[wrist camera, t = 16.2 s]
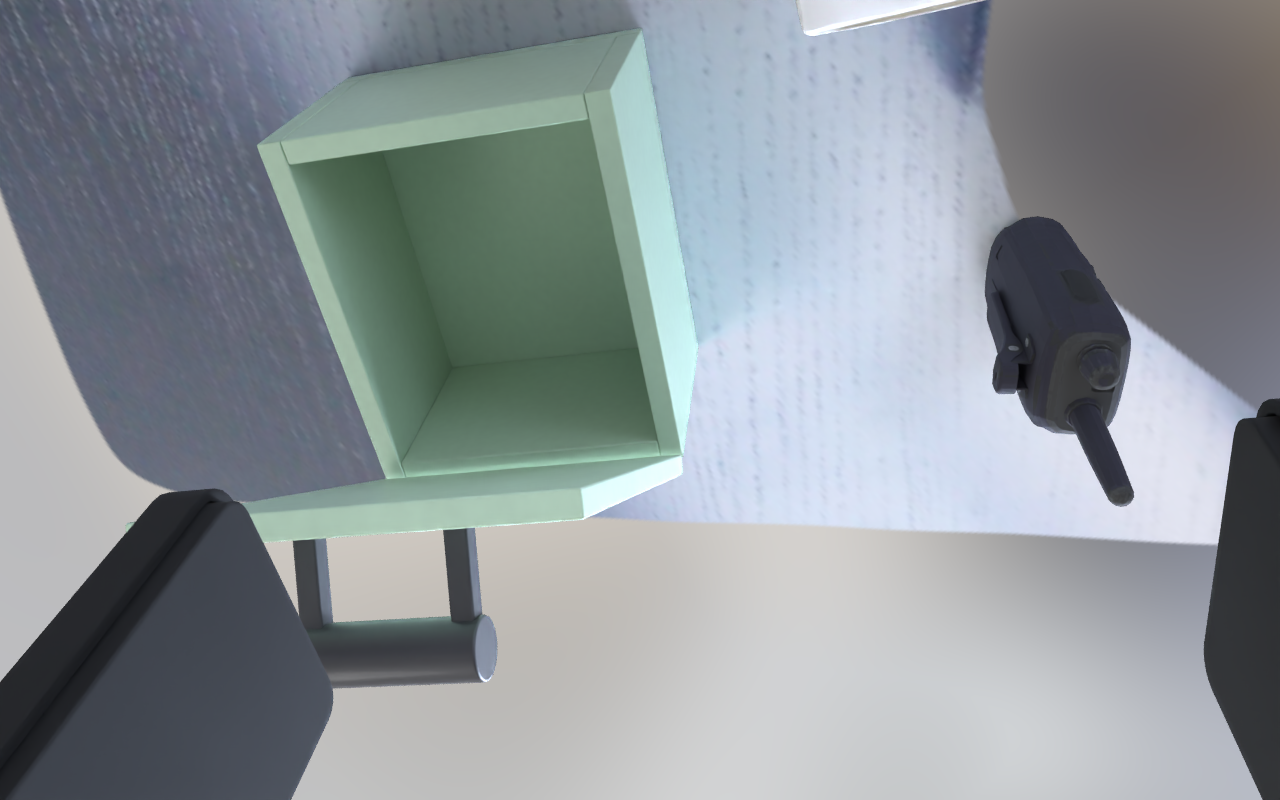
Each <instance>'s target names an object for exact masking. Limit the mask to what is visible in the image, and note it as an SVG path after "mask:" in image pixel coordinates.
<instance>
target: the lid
mask: <svg viewBox="0 0 1280 800" xmlns="http://www.w3.org/2000/svg"><path fill="white" fill-rule="evenodd" d="M682 474H683V468H682V457H681V455H668V456H656V457H644V458H632V459H620V460H608V461H596V462H584V463H573V464H561V465H549V466H537V467H525V468H513V469H501V470H489V471H477V472H465V473H453V474H441V475H429V476H417V477H405V478H393V479H382V480H377V481H371V482H365V483H359V484H353V485H347V486H341V487H336V488H330V489H324V490H318V491H312V492H306V493H300V494H294V495H289V496H283V497H277V498H271V499H265V500H259V501H253V502H248V503H242V505H243V506H244V507H245V508H246V510H247V511H248V513H249V515H250V517H251V519H252V521H253V523H254V525H255V527H256V529H257V531H258V533H259V535H260V537H261V539H262V541H263V543H266V542H281V541H293V548H294V558H295V559H294V560H295V571H296V582H297V594H298V607H299V617H300V619H301V622H302V624H303V626H304V628H305V630H306V632H307V634H308V636H309V638H310V640H311V642H312V644H313V646H314V648H315V650H316V652H317V654H318V657H319V659H320V661H321V663H322V665H323V667H324V669H325V671H326V673H327V675H328V677H329V679H330V682H331V685H332V688H356V687H381V686H403V685H404V686H405V685H430V684H455V683H481V682H486V681H488V680H490V678H491V677H492V675H493V673H494V670H495V666H496V660H497V637H496V631H495V628H494V624H493V622H492V620H491V619H490V617H489V616H486V615H482V606H481V594H480V583H479V571H478V560H477V548H476V537H475V527H489V526H503V525H517V524H531V523H545V522H559V521H572V520H583V519H585V518H587V517H589V516H591V515H594V514H596V513H598V512H600V511H602V510H605V509H607V508H609V507H611V506H613V505H616V504H618V503H620V502H622V501H624V500H627V499H629V498H631V497H633V496H635V495H638V494H640V493H642V492H644V491H646V490H649V489H651V488H653V487H655V486H657V485H660V484H662V483H664V482H666V481H668V480H671V479H673V478H675V477H677V476H679V475H682ZM134 523H135V522H130V523H127V524H126V533H127V531H128V530H129V529H130V528H131V527H132V525H133V524H134ZM433 530H443V532H444V544H445V555H446V567H447V578H448V589H449V601H450V612H451V616H447V617H429V618H410V619H392V620H373V621H355V622H336V623H333V616H332V605H331V593H330V581H329V570H328V559H327V558H328V557H327V546H326V538H337V537H349V536H350V537H351V536H364V535H378V534H392V533H406V532H420V531H433Z"/></svg>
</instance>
